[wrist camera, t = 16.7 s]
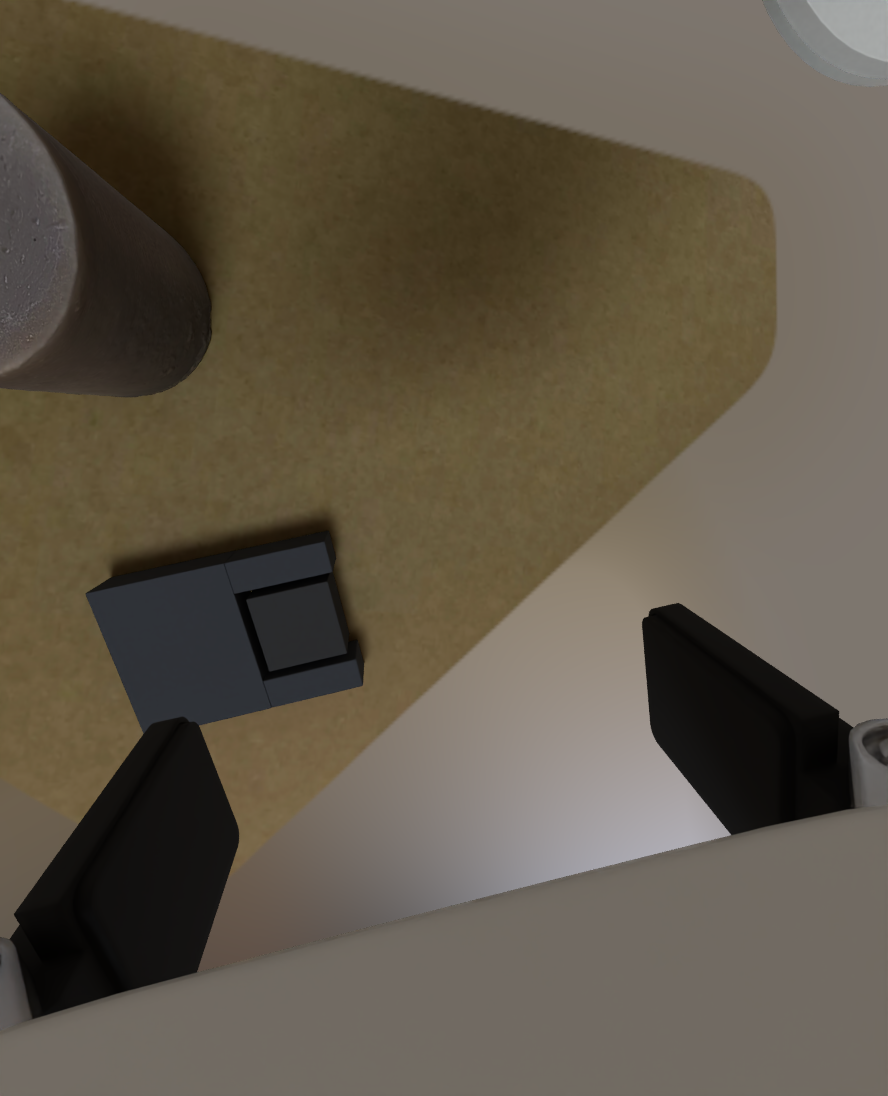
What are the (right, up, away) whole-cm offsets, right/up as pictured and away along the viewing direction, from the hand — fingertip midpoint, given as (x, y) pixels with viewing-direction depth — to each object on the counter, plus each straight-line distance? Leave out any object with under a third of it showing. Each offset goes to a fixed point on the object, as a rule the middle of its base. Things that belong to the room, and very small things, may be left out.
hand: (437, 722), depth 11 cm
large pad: (-13, -1, +24) cm, 27 cm away
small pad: (-9, -1, +24) cm, 26 cm away
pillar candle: (-18, +17, +18) cm, 31 cm away
